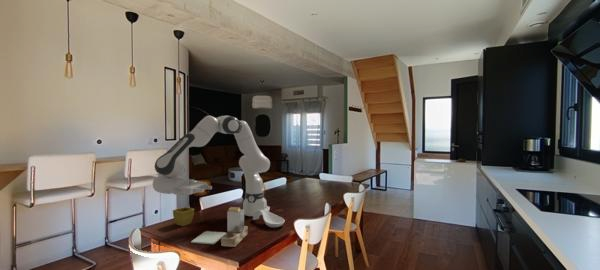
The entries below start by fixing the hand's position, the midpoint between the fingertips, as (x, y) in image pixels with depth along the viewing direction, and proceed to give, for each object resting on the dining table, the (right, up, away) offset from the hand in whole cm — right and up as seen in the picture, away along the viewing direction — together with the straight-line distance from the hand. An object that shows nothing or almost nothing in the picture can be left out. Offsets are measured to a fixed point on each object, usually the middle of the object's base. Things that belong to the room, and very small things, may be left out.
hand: (207, 189), depth 146 cm
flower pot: (-20, -24, +16) cm, 36 cm away
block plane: (+16, -25, -6) cm, 30 cm away
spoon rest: (+30, -25, +18) cm, 43 cm away
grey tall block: (+16, -20, -5) cm, 26 cm away
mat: (+2, -25, -4) cm, 25 cm away
